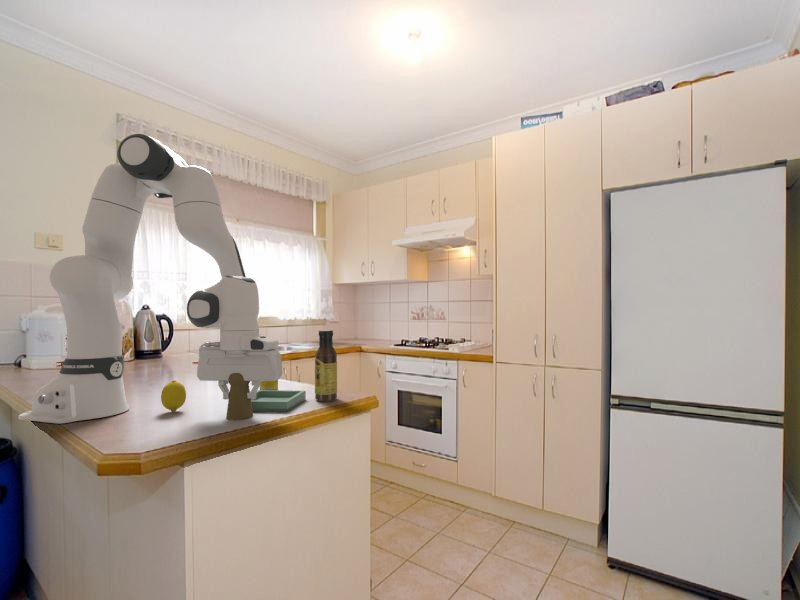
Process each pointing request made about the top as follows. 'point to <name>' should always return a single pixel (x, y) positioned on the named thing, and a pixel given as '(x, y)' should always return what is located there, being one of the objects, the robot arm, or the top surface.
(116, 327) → the robot arm
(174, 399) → the lemon
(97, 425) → the top surface
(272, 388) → the supplement bottle
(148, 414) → the top surface
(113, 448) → the top surface
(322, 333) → the sauce bottle
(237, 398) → the cork
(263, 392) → the tray
